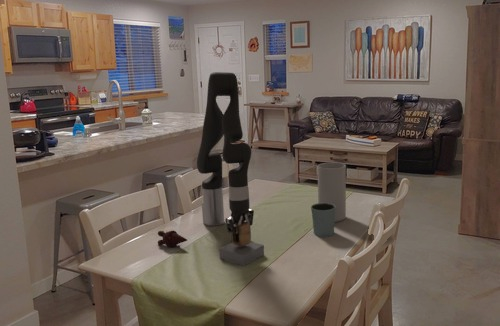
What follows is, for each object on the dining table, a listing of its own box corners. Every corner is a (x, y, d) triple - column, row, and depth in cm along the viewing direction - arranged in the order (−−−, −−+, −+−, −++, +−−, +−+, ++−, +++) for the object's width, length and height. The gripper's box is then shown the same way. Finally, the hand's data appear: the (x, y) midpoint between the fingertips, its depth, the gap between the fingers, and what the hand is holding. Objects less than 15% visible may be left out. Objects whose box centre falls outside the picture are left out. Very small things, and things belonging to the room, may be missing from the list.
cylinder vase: (315, 221, 214) (314, 168, 209) (321, 212, 226) (321, 162, 220) (342, 223, 210) (342, 169, 204) (347, 214, 221) (348, 163, 216)
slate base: (219, 258, 178) (219, 248, 177) (240, 248, 187) (240, 238, 186) (243, 265, 171) (243, 255, 170) (264, 254, 180) (263, 245, 179)
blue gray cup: (338, 230, 201) (338, 203, 199) (332, 239, 192) (331, 211, 190) (315, 228, 206) (315, 201, 203) (308, 236, 197) (307, 208, 194)
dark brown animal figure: (192, 230, 191) (163, 228, 199) (181, 231, 185) (152, 230, 192) (192, 247, 191) (163, 245, 198) (181, 249, 184) (151, 247, 192)
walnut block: (232, 244, 178) (231, 224, 176) (240, 239, 181) (239, 220, 180) (242, 246, 174) (241, 226, 173) (250, 242, 178) (249, 222, 176)
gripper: (243, 190, 182) (245, 232, 185) (218, 200, 171) (220, 243, 175) (258, 193, 177) (260, 236, 181) (233, 203, 166) (236, 248, 170)
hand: (241, 239), depth 178 cm, fingers closed on walnut block, 5 cm apart
